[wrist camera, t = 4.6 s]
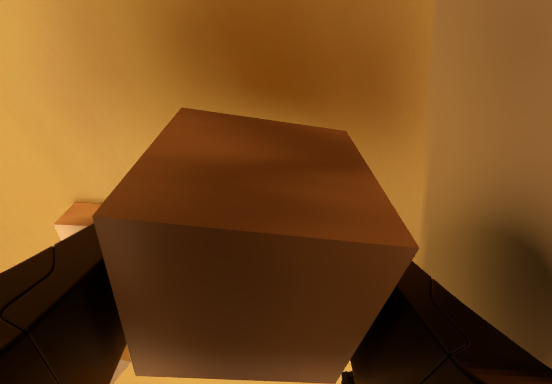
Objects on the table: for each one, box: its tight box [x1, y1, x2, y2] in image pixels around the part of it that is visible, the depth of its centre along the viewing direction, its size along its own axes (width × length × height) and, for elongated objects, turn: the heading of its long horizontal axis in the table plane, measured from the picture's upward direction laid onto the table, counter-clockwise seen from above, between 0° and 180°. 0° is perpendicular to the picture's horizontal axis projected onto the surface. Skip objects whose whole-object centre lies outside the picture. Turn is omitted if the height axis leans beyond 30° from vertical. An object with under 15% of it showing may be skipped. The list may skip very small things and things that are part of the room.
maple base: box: [54, 202, 102, 241], centre depth 23 cm, size 7×7×3 cm
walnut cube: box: [92, 108, 419, 384], centre depth 8 cm, size 5×5×5 cm
